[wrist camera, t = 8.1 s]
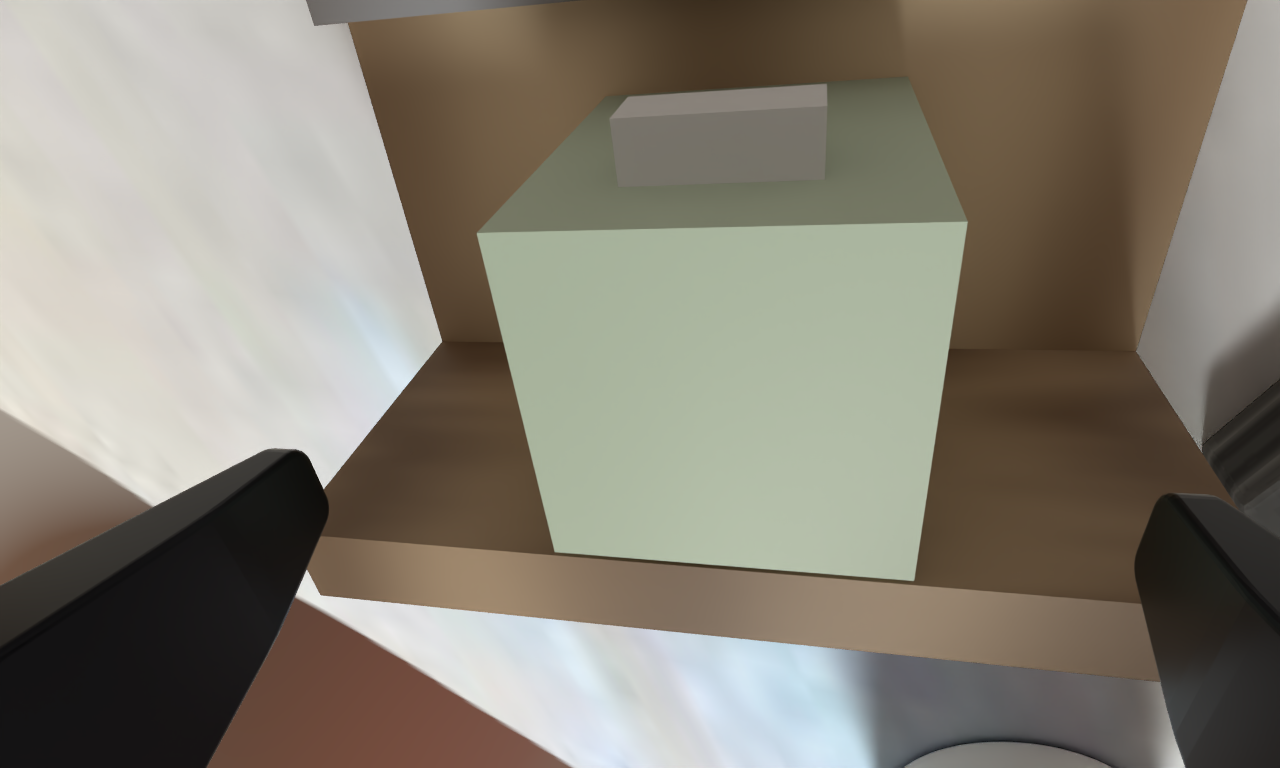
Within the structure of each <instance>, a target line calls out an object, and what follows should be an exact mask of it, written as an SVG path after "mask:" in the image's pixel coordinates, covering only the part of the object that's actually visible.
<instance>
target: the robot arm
mask: <svg viewBox="0 0 1280 768" xmlns="http://www.w3.org/2000/svg"><path fill="white" fill-rule="evenodd" d="M328 515H329V502H328V498H327V496H326V494H325V492H324V489H323V487H322V485H321V483H320V481H319V479H318V476H317V474H316V472H315V470H314V468H313V466H312V463H311V461H310V459H309V458H308V456H307V455H306V454H305V453H303V452H302V451H299V450H296V449H277V448H274V449H267V450H264V451H262V452H260V453H258V454H256V455H254V456H252V457H250V458H248V459H246V460H244V461H242V462H240V463H238V464H236V465H234V466H232V467H230V468H229V469H227V470H225V471H223V472H221V473H219V474H217V475H215V476H213V477H211V478H209V479H207V480H205V481H203V482H201V483H199V484H197V485H195V486H193V487H191V488H189V489H188V490H186V491H184V492H182V493H180V494H178V495H176V496H174V497H172V498H170V499H168V500H166V501H164V502H162V503H160V504H158V505H156V506H154V507H152V508H150V509H149V510H147V511H145V512H143V513H141V514H139V515H137V516H135V517H133V518H131V519H129V520H127V521H125V522H123V523H121V524H119V525H117V526H116V527H113V528H111V529H109V530H107V531H106V532H104V533H102V534H100V535H98V536H96V537H94V538H92V539H90V540H88V541H86V542H84V543H82V544H80V545H78V546H76V547H74V548H72V549H70V550H68V551H66V552H65V553H63V554H61V555H59V556H57V557H55V558H53V559H51V560H49V561H47V562H45V563H43V564H41V565H39V566H37V567H35V568H33V569H31V570H30V571H27V572H25V573H24V574H22V575H20V576H18V577H16V578H14V579H12V580H10V581H8V582H6V583H4V584H2V585H0V768H207V766H208V764H209V762H210V760H211V759H212V757H213V755H214V753H215V751H216V749H217V747H218V746H219V744H220V742H221V740H222V738H223V736H224V735H225V733H226V731H227V729H228V727H229V725H230V723H231V722H232V720H233V718H234V716H235V714H236V712H237V711H238V709H239V707H240V705H241V703H242V701H243V699H244V698H245V696H246V694H247V692H248V690H249V689H250V687H251V685H252V683H253V681H254V679H255V677H256V675H257V674H258V672H259V670H260V668H261V666H262V665H263V663H264V661H265V659H266V657H267V655H268V654H269V652H270V650H271V648H272V646H273V644H274V642H275V640H276V638H277V636H278V634H279V632H280V630H281V627H282V625H283V623H284V620H285V618H286V616H287V614H288V612H289V610H290V607H291V604H292V602H293V600H294V598H295V595H296V593H297V591H298V588H299V586H300V584H301V581H302V579H303V577H304V574H305V572H306V570H307V567H308V565H309V562H310V560H311V558H312V555H313V553H314V551H315V548H316V546H317V544H318V541H319V539H320V537H321V534H322V532H323V529H324V527H325V525H326V522H327V519H328ZM1134 573H1135V580H1136V584H1137V588H1138V592H1139V597H1140V601H1141V605H1142V609H1143V613H1144V617H1145V621H1146V625H1147V629H1148V633H1149V637H1150V641H1151V646H1152V650H1153V654H1154V658H1155V662H1156V666H1157V670H1158V674H1159V678H1160V682H1161V686H1162V690H1163V694H1164V699H1165V703H1166V707H1167V711H1168V714H1169V718H1170V721H1171V725H1172V729H1173V732H1174V736H1175V739H1176V742H1177V745H1178V747H1179V750H1180V753H1181V756H1182V759H1183V762H1184V765H1185V768H1280V538H1279V537H1278V536H1276V535H1275V534H1273V533H1272V532H1270V531H1269V530H1267V529H1266V528H1264V527H1263V526H1261V525H1260V524H1258V523H1257V522H1255V521H1254V520H1253V519H1251V518H1250V517H1248V516H1247V515H1245V514H1244V513H1242V512H1241V511H1239V510H1238V509H1236V508H1235V507H1233V506H1232V505H1230V504H1229V503H1227V502H1226V501H1224V500H1222V499H1221V498H1219V497H1216V496H1213V495H1207V494H1188V493H1167V494H1164V495H1162V496H1161V497H1160V498H1159V499H1158V500H1157V502H1156V503H1155V505H1154V507H1153V510H1152V513H1151V515H1150V518H1149V520H1148V523H1147V526H1146V528H1145V531H1144V533H1143V536H1142V539H1141V541H1140V544H1139V546H1138V549H1137V552H1136V555H1135V561H1134Z"/></svg>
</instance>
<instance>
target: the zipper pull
mask: <svg viewBox="0 0 1280 768" xmlns="http://www.w3.org/2000/svg"><path fill="white" fill-rule="evenodd" d="M1203 455H1204V457H1205V459H1206V460H1207V462H1208V463H1209V465H1210V466H1211V468H1212V469H1213V471H1214V472H1215V474H1216V475H1217V477H1218V479H1219V480H1220V482H1221V483H1222V485H1223V486H1224V488H1225V489H1226V491H1227V492H1228V494H1229V495H1230V497H1231V499H1232V500H1233V502H1234V503H1235V505H1236V506H1237V508H1238V509H1239V511H1241V512H1242V513H1244V514H1245V515H1247V516H1248V517H1250V518H1251V519H1253V520H1254V521H1255V522H1257V523H1258V524H1260V525H1261V526H1263V527H1264V528H1266V529H1267V530H1269V531H1270V532H1272V533H1273V534H1275V535H1276V536H1278V537H1279V538H1280V380H1279V381H1278V382H1276V383H1275V384H1274V385H1273V386H1272V387H1270V388H1269V389H1268V390H1267V391H1266V392H1265V393H1263V394H1262V395H1261V396H1260V397H1259V398H1257V399H1256V400H1255V401H1254V402H1253V403H1251V404H1250V405H1249V406H1248V407H1247V408H1246V409H1244V410H1243V411H1242V412H1241V413H1240V414H1238V415H1237V416H1236V417H1235V418H1234V419H1233V420H1231V421H1230V422H1229V423H1228V424H1227V425H1225V426H1224V427H1223V428H1222V429H1221V430H1220V431H1218V432H1217V433H1216V434H1215V435H1214V436H1212V437H1211V438H1210V439H1209V440H1208V441H1207V442H1206V443H1205V444H1204V445H1203Z"/></svg>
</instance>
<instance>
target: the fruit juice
mask: <svg viewBox="0 0 1280 768" xmlns="http://www.w3.org/2000/svg"><path fill="white" fill-rule="evenodd" d="M904 768H1112V767H1110V766H1108V765H1106V764H1104V763H1102V762H1100V761H1097V760H1095V759H1092V758H1090V757H1087V756H1084V755H1082V754H1078V753H1075V752H1072V751H1068V750H1064V749H1060V748H1056V747H1051V746H1045V745H1038V744H1031V743H1019V742H982V743H971V744H964V745H958V746H953V747H949V748H945V749H941V750H938V751H935V752H932V753H929V754H927V755H925V756H922V757H920V758H918V759H916V760H914V761H913V762H911V763H909V764H908V765H906V766H905V767H904Z"/></svg>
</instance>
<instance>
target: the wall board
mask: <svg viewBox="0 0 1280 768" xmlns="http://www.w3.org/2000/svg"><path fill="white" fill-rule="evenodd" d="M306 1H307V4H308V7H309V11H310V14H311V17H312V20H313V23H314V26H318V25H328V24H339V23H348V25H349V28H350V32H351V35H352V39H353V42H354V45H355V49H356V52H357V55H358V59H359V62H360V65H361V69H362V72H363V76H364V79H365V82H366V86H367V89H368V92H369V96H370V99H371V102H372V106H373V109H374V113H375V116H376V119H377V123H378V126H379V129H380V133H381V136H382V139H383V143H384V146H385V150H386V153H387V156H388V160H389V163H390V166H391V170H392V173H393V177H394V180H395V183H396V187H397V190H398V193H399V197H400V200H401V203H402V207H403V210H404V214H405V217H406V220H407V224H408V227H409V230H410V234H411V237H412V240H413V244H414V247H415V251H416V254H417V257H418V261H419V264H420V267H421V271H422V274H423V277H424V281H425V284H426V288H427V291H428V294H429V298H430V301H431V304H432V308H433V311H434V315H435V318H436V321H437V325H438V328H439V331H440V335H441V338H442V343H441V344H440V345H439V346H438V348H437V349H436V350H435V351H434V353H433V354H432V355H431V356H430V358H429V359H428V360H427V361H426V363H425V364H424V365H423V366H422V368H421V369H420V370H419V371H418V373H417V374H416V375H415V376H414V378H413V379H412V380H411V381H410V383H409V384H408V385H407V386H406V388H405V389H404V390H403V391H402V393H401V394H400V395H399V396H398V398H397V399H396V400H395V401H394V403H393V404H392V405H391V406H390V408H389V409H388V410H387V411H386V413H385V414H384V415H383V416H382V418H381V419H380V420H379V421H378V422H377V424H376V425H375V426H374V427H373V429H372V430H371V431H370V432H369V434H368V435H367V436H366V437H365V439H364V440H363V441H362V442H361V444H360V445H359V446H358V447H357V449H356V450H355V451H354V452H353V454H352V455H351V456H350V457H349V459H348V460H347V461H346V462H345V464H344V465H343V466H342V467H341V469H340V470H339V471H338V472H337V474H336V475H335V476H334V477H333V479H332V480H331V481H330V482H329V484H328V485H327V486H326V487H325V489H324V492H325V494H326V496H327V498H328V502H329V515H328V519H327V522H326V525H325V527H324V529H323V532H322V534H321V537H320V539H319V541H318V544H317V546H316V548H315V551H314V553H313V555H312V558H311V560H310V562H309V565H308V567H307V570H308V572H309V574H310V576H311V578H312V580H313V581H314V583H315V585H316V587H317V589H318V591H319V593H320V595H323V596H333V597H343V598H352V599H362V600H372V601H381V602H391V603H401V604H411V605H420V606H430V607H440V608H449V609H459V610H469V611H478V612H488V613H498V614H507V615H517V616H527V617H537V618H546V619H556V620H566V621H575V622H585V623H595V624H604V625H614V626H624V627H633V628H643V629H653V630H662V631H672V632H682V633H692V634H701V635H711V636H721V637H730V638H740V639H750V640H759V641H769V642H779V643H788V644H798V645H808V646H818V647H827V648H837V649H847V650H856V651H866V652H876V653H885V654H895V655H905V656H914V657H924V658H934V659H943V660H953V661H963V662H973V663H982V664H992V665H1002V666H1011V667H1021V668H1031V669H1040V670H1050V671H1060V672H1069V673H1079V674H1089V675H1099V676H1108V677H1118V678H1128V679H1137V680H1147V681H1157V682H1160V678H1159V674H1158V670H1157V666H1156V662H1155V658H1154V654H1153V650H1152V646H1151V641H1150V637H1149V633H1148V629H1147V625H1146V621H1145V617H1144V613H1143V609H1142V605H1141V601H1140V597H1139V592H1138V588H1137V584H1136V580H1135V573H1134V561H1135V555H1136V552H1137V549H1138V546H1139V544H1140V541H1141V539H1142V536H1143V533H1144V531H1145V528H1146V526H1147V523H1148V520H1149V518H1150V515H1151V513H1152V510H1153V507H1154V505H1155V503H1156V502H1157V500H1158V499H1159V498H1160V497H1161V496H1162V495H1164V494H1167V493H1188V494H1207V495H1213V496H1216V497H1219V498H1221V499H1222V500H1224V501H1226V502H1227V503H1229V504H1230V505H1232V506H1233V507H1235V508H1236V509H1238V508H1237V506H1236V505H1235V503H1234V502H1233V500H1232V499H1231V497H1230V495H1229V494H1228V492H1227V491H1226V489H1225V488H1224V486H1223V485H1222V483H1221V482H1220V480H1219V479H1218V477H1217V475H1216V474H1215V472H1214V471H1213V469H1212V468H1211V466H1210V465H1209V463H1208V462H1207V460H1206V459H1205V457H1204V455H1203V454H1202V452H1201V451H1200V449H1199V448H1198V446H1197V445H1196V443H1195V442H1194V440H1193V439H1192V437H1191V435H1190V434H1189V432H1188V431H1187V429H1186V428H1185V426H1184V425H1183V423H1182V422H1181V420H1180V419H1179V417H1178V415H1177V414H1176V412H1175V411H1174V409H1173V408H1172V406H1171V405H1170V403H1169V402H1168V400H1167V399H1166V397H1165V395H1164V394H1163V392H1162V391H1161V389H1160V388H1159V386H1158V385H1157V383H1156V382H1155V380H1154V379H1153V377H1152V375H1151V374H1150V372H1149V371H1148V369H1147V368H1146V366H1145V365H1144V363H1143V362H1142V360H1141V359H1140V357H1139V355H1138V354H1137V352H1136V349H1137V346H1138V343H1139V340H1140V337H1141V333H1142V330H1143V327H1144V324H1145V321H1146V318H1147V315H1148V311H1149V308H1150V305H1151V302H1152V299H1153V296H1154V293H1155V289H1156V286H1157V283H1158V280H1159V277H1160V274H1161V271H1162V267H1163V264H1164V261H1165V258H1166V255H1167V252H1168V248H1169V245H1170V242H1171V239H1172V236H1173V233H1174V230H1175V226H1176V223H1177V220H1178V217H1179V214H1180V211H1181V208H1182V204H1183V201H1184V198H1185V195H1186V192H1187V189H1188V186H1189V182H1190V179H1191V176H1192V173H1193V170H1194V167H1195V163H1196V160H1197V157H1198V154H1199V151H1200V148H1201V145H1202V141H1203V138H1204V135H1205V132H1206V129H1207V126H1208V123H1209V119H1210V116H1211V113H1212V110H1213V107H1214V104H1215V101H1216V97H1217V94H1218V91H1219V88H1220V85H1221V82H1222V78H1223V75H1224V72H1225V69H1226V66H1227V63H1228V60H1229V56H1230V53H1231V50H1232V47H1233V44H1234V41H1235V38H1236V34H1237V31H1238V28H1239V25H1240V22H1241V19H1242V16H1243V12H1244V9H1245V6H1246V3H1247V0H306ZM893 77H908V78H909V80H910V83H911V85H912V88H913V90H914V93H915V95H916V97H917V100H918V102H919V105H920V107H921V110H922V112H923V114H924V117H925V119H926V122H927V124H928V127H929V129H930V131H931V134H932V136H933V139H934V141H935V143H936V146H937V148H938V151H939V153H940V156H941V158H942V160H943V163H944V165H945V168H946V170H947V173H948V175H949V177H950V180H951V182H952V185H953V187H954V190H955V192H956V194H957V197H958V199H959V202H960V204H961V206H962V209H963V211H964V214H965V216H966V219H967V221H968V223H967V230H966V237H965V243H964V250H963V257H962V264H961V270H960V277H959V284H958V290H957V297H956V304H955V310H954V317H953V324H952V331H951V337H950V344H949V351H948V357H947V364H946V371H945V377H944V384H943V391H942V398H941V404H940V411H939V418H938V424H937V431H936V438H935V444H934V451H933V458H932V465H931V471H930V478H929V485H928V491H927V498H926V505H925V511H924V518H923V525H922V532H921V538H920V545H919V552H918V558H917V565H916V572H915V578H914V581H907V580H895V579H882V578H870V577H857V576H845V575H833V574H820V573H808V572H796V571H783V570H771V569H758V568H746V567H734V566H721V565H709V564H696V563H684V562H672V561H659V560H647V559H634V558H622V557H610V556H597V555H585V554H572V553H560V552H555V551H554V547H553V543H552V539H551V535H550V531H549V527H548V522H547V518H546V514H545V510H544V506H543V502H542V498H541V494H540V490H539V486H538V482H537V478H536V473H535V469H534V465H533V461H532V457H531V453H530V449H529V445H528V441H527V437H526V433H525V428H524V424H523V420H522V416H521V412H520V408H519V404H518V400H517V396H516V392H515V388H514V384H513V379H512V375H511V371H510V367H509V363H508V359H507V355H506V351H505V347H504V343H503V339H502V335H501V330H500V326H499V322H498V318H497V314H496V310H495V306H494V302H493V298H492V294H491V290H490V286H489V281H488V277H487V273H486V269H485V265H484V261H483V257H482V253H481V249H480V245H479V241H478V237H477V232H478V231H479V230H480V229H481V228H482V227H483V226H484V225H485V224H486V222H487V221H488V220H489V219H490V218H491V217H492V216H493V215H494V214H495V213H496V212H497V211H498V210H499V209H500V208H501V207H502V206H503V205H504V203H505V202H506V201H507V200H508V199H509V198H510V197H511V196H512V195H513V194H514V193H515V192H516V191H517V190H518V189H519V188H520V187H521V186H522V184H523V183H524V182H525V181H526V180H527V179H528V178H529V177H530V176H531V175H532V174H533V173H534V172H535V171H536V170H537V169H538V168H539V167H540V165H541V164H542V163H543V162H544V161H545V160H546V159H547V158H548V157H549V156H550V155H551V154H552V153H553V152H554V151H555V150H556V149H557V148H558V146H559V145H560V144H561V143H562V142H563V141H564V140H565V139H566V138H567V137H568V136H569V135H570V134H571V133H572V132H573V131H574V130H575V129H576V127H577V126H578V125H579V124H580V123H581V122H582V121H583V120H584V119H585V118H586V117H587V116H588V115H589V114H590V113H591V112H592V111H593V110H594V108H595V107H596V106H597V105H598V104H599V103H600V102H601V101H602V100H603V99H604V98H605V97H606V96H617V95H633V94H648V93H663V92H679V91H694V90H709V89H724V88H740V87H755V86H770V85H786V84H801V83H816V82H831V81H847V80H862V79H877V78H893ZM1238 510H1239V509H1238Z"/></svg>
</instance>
